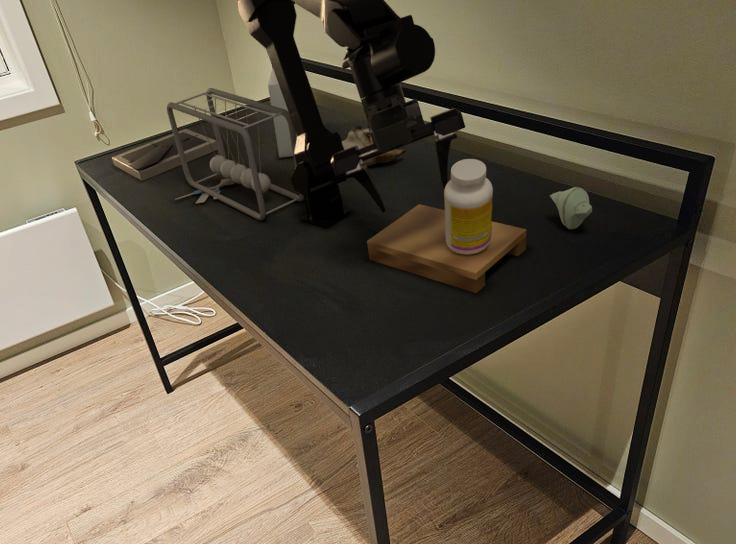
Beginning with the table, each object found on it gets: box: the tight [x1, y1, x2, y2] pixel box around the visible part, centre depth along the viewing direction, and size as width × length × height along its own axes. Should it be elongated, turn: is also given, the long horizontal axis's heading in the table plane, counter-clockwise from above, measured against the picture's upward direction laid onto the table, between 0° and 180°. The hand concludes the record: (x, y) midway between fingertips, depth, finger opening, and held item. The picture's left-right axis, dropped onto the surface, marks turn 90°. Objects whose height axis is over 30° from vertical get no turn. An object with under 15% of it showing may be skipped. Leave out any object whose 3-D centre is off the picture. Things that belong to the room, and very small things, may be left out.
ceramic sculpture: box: [341, 125, 407, 167], centre depth 134 cm, size 11×9×15 cm
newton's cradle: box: [166, 87, 305, 221], centre depth 129 cm, size 30×10×18 cm, turn 38°
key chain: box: [174, 178, 236, 204], centre depth 137 cm, size 14×8×1 cm, turn 126°
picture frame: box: [111, 128, 219, 182], centre depth 158 cm, size 16×3×21 cm
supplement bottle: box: [443, 158, 494, 255], centre depth 93 cm, size 7×7×13 cm
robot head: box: [549, 186, 593, 230], centre depth 103 cm, size 8×4×7 cm, turn 25°
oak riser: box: [366, 203, 527, 294], centre depth 103 cm, size 20×14×4 cm
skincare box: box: [267, 67, 297, 159], centre depth 150 cm, size 21×5×16 cm, turn 179°
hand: (414, 201), depth 95 cm, fingers open, 9 cm apart
